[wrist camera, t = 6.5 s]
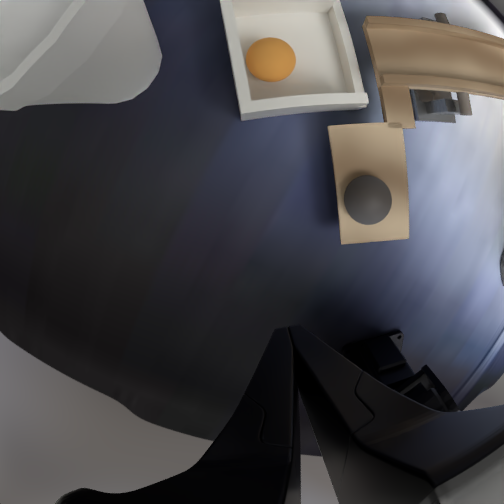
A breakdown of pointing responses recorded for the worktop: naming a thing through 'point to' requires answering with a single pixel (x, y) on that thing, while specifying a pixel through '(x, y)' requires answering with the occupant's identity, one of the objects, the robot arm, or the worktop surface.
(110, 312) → the worktop surface
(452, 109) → the fulcrum
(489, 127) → the worktop surface
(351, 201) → the lever
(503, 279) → the coffeepot
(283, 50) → the ball
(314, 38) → the dish
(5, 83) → the foam cup
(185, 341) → the worktop surface
